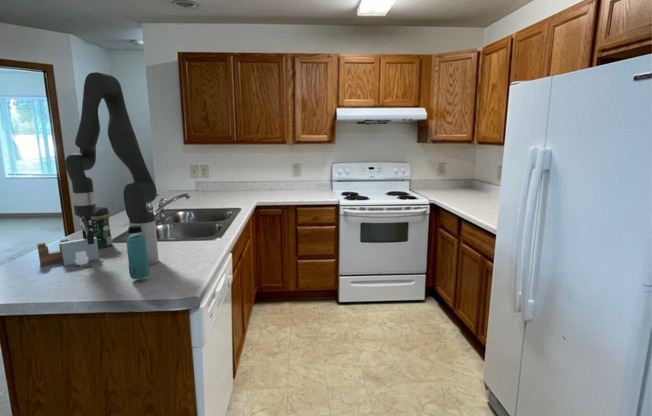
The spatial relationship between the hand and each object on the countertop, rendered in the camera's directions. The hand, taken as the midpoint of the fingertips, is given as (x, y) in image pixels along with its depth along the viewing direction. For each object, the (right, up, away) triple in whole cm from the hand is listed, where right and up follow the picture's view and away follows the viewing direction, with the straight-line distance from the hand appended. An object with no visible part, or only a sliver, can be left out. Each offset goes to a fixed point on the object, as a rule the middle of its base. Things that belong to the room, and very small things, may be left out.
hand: (88, 241), depth 154 cm
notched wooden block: (-11, -8, -3) cm, 14 cm away
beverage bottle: (+31, -12, -20) cm, 39 cm away
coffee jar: (-7, -4, +20) cm, 22 cm away
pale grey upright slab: (-2, -8, -1) cm, 8 cm away
